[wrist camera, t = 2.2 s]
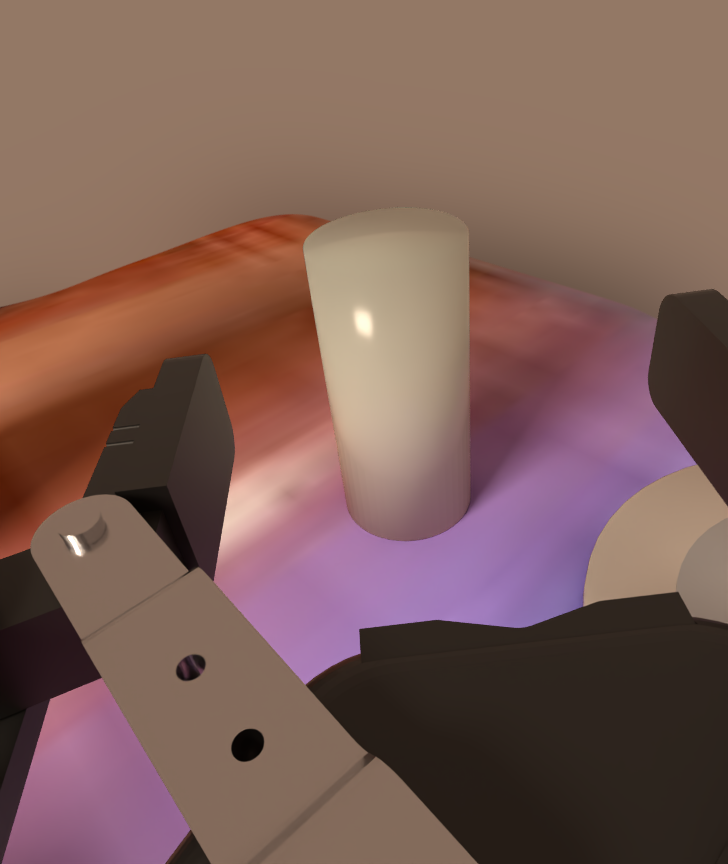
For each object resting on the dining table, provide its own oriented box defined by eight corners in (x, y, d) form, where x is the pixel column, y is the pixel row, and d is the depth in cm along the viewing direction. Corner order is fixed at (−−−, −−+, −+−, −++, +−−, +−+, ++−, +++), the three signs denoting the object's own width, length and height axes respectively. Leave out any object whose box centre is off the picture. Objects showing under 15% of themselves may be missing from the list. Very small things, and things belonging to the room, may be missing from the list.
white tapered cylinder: (320, 504, 29) (269, 251, 22) (399, 439, 32) (376, 199, 25) (418, 561, 26) (396, 288, 19) (495, 484, 29) (502, 223, 22)
